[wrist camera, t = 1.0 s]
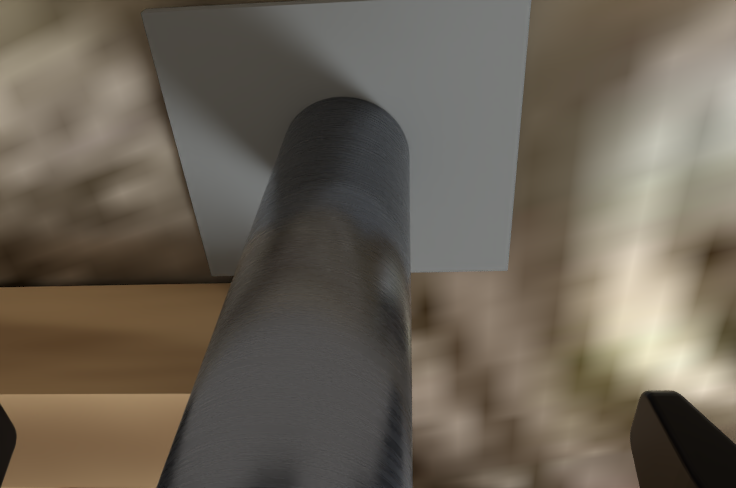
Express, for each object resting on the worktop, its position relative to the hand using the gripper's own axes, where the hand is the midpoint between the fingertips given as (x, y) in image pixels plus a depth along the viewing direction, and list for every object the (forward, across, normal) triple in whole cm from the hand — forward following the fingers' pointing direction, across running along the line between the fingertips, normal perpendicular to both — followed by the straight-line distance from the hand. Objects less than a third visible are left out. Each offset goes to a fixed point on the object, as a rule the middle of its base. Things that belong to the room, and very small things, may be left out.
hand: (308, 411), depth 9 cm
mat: (+8, 0, 0) cm, 8 cm away
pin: (+7, 0, 0) cm, 7 cm away
